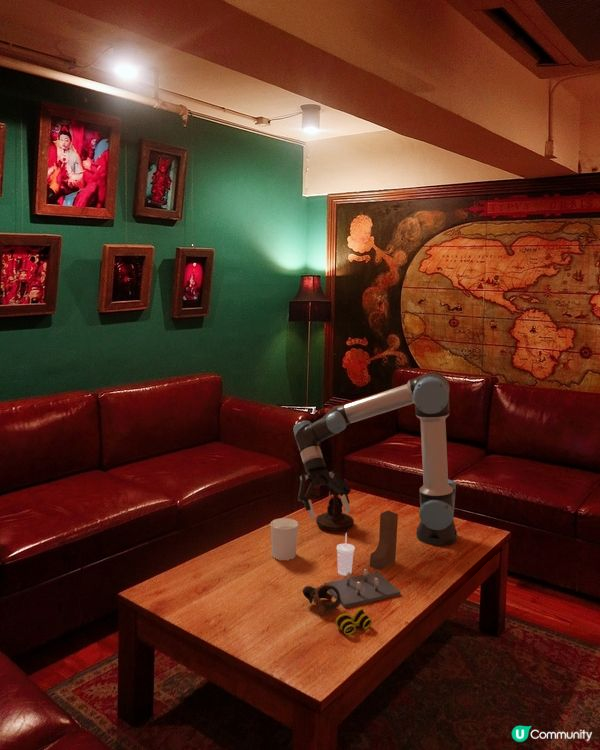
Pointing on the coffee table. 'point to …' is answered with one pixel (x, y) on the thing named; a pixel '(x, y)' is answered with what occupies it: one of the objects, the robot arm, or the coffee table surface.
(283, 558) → the candle holder
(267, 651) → the coffee table surface
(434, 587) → the coffee table surface
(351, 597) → the cup stand
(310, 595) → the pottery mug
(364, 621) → the opera glasses
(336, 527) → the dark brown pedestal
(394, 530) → the wooden block
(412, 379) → the robot arm
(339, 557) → the beverage cup
